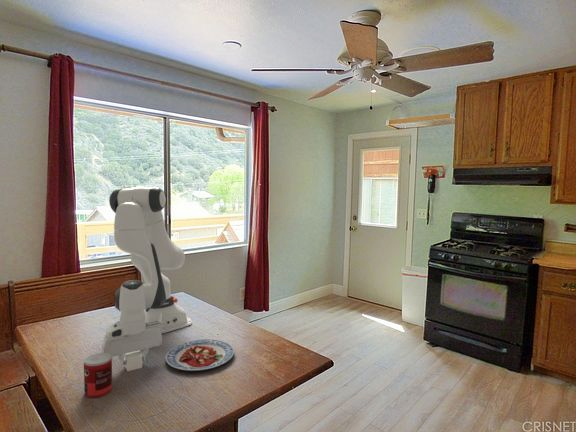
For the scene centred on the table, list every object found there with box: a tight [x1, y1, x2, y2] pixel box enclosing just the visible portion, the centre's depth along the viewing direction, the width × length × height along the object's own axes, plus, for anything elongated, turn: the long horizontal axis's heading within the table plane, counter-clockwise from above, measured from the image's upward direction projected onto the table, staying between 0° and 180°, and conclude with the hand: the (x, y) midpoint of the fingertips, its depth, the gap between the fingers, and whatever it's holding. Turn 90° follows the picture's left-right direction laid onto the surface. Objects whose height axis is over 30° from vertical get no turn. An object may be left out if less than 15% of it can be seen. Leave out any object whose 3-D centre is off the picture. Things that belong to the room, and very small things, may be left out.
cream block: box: [124, 350, 143, 372], centre depth 127 cm, size 5×5×5 cm
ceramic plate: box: [165, 338, 235, 372], centre depth 135 cm, size 26×26×3 cm
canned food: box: [83, 352, 113, 399], centre depth 111 cm, size 8×8×11 cm
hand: (133, 362), depth 127 cm, fingers closed on cream block, 5 cm apart
